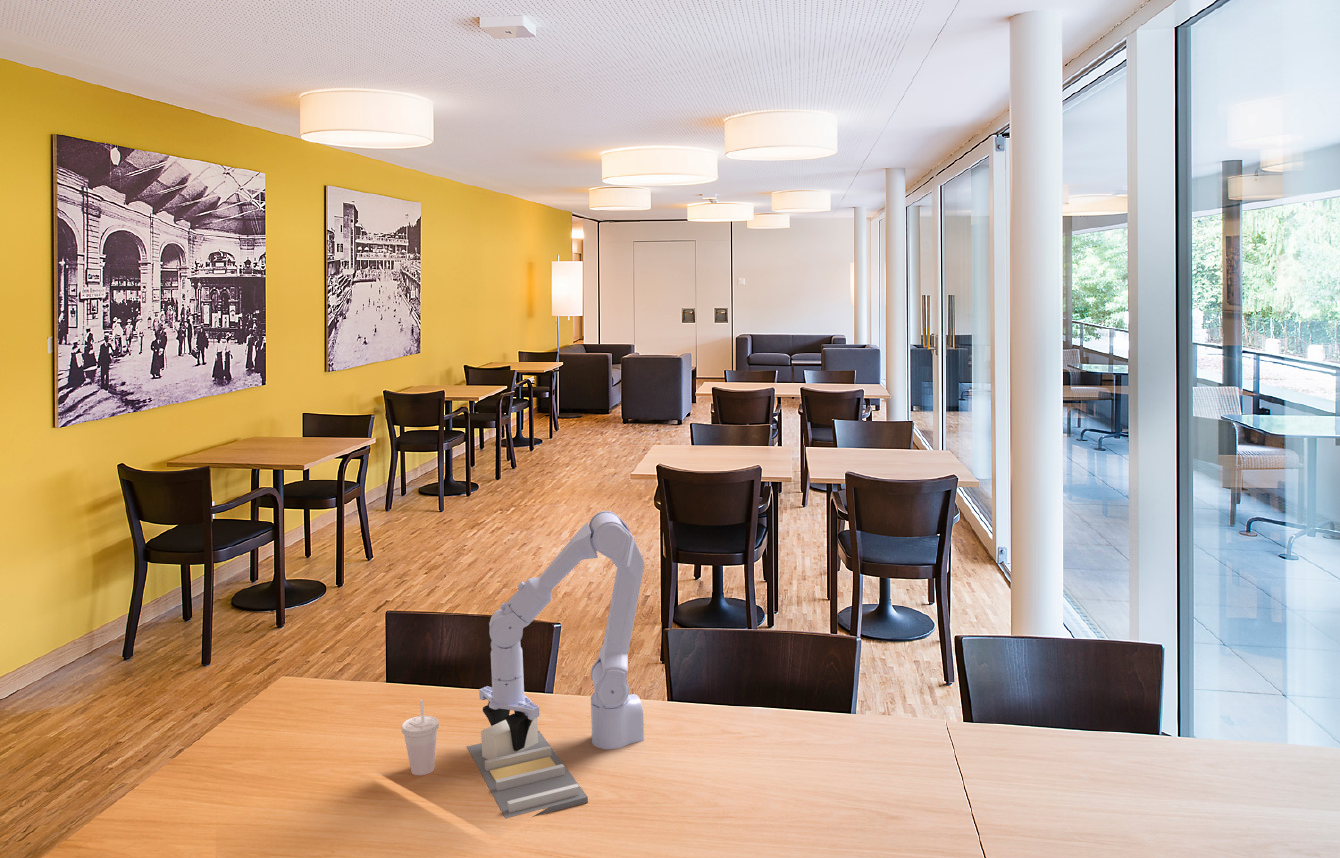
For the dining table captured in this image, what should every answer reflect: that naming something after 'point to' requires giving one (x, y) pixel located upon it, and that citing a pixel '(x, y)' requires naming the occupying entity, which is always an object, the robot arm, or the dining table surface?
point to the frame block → (504, 740)
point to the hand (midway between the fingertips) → (510, 745)
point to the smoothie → (421, 742)
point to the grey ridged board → (529, 780)
